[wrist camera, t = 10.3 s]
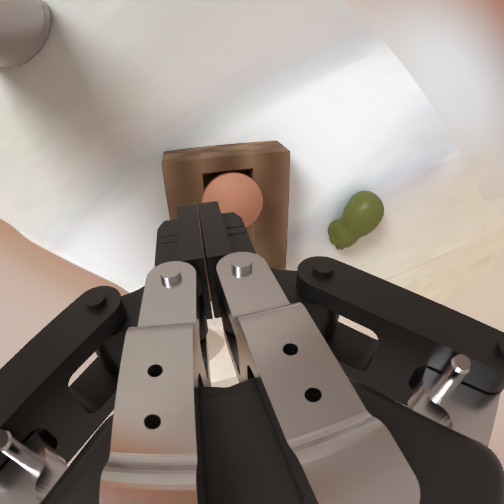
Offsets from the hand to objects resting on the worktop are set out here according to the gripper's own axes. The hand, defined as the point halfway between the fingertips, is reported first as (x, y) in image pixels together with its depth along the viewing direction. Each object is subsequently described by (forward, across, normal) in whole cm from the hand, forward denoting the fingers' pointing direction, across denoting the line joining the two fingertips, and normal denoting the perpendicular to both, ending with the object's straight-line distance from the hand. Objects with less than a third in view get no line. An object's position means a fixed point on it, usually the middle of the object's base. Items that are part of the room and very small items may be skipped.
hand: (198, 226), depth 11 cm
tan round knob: (+25, -4, +9) cm, 26 cm away
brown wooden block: (+27, -4, +14) cm, 31 cm away
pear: (+27, -23, +16) cm, 39 cm away
